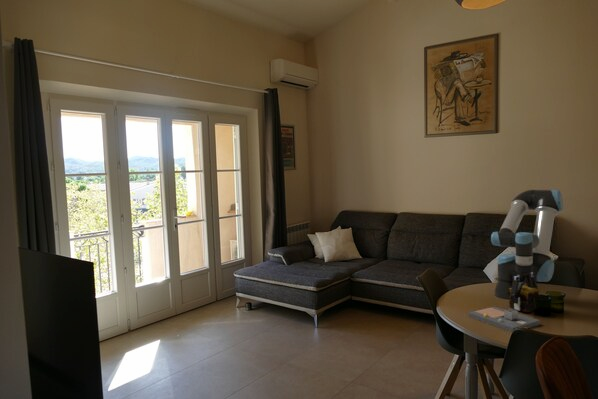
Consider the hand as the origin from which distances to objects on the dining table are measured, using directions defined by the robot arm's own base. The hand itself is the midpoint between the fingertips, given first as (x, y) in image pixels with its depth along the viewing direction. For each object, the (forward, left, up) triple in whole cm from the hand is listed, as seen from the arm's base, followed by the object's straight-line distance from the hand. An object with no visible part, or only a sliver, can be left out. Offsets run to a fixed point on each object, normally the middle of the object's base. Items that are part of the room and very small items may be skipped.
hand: (524, 307), depth 212 cm
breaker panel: (+5, -21, -1) cm, 22 cm away
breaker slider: (+9, -21, +1) cm, 23 cm away
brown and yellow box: (0, 0, -1) cm, 1 cm away
